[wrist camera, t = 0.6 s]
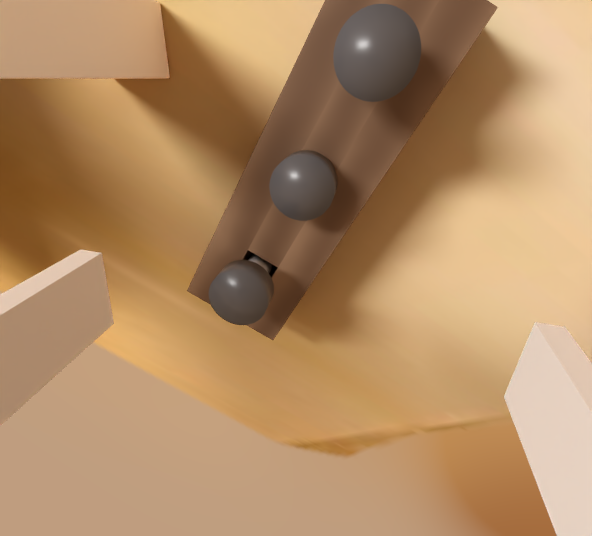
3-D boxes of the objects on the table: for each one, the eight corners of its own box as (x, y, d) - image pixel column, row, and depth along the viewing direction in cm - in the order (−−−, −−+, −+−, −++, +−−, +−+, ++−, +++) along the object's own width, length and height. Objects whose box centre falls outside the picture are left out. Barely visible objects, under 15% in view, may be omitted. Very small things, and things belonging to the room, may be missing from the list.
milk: (113, 78, 37) (-178, 81, 18) (99, 3, 35) (-262, -90, 15) (172, 78, 36) (-72, 80, 17) (161, 0, 34) (-142, -104, 14)
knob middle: (278, 179, 36) (258, 199, 30) (304, 131, 34) (288, 142, 28) (324, 207, 37) (313, 232, 31) (352, 161, 34) (347, 178, 28)
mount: (210, 265, 44) (186, 290, 39) (366, -53, 29) (363, -82, 24) (285, 309, 45) (272, 340, 40) (477, 20, 30) (497, 7, 25)
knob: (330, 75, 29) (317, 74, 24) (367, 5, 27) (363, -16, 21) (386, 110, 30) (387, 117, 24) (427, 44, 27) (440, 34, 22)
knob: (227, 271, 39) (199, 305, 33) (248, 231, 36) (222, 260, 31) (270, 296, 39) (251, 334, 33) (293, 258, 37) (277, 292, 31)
